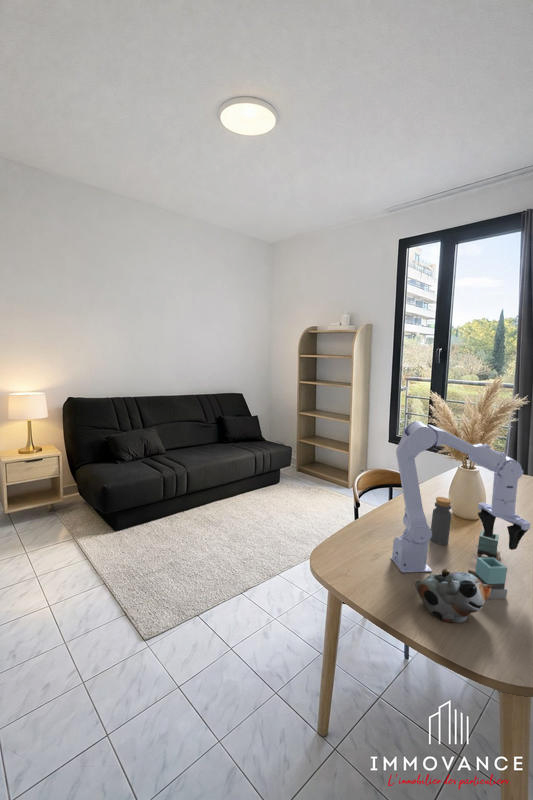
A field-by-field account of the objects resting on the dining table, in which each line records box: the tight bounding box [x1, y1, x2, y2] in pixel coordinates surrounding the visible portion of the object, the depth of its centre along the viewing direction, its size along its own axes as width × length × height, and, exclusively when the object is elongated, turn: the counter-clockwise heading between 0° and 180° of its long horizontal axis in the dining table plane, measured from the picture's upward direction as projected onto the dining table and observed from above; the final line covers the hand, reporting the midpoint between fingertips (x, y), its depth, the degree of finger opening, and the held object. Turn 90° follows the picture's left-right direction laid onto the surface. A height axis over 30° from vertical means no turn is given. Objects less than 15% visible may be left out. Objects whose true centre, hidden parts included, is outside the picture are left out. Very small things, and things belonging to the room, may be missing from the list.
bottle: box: [430, 496, 452, 545], centre depth 127 cm, size 6×6×15 cm
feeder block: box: [487, 587, 508, 600], centre depth 101 cm, size 6×6×2 cm
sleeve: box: [475, 557, 508, 589], centre depth 100 cm, size 5×5×6 cm
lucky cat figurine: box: [414, 568, 492, 624], centre depth 91 cm, size 15×12×14 cm
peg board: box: [467, 529, 501, 576], centre depth 113 cm, size 18×7×8 cm, turn 144°
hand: (500, 542), depth 107 cm, fingers open, 7 cm apart
